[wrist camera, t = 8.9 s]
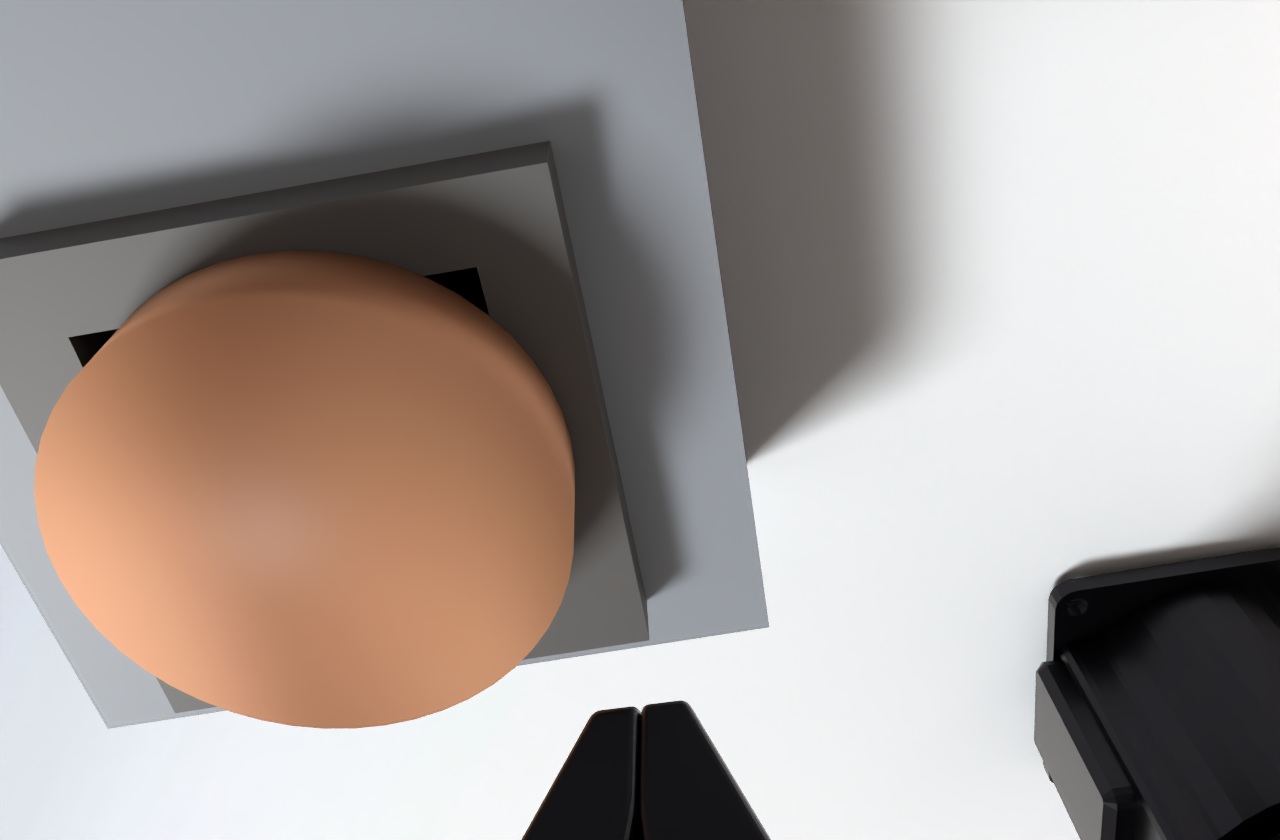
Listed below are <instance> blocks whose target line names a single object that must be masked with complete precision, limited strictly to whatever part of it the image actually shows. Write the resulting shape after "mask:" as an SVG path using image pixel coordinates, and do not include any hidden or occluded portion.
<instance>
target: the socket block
mask: <svg viewBox="0 0 1280 840" xmlns="http://www.w3.org/2000/svg"><path fill="white" fill-rule="evenodd" d="M278 251H326V252H333V253H340V254H348V255H355V256H361V257H365V258H368V259H372V260H376V261H380V262H384V263H388V264H392V265H395V266H398V267H400V268H403V269H405V270H408V271H410V272H413V273H416V274H418V275H421V276H427V275H433V274H439V273H444V272H450V271H456V270H462V269H468V268H473V267H477V270H478V273H479V277H480V281H481V285H482V289H483V293H484V297H485V300H486V304H487V308H488V312H489V316H490V317H491V318H492V319H493V320H494V321H495V322H496V323H498V324H499V325H500V326H501V327H502V328H503V329H504V330H505V331H507V332H508V333H509V334H510V335H511V336H512V337H513V338H514V339H515V340H516V342H517V343H518V344H519V345H520V346H521V347H522V348H523V350H524V351H525V352H526V353H527V354H528V355H529V356H530V358H531V359H532V360H533V361H534V363H535V364H536V366H537V367H538V369H539V370H540V372H541V373H542V375H543V376H544V378H545V379H546V381H547V382H548V384H549V385H550V387H551V389H552V391H553V393H554V396H555V398H556V400H557V402H558V404H559V406H560V408H561V410H562V412H563V415H564V419H565V422H566V425H567V428H568V431H569V434H570V438H571V443H572V449H573V456H574V462H575V514H574V553H573V559H572V565H571V572H570V578H569V582H568V585H567V588H566V591H565V594H564V597H563V599H562V602H561V605H560V607H559V609H558V611H557V613H556V615H555V617H554V618H553V620H552V622H551V624H550V626H549V628H548V629H547V631H546V632H545V633H544V635H543V636H542V638H541V639H540V640H539V642H538V643H537V644H536V646H535V647H534V648H533V650H532V651H531V652H530V653H529V654H528V655H527V656H526V657H525V658H524V659H523V660H522V661H521V662H520V663H519V664H518V665H517V666H519V665H525V664H532V663H538V662H545V661H551V660H558V659H564V658H571V657H577V656H584V655H590V654H597V653H603V652H610V651H617V650H623V649H630V648H636V647H643V646H649V645H656V644H662V643H669V642H675V641H682V640H688V639H695V638H701V637H708V636H714V635H721V634H727V633H734V632H740V631H747V630H753V629H760V628H766V627H769V623H768V616H767V609H766V601H765V594H764V587H763V580H762V572H761V565H760V558H759V551H758V543H757V536H756V529H755V522H754V514H753V507H752V500H751V493H750V486H749V478H748V471H747V464H746V457H745V449H744V442H743V435H742V428H741V420H740V413H739V406H738V399H737V391H736V384H735V377H734V370H733V362H732V355H731V348H730V341H729V334H728V326H727V319H726V312H725V305H724V297H723V290H722V283H721V276H720V268H719V261H718V254H717V247H716V239H715V232H714V225H713V218H712V210H711V203H710V196H709V189H708V182H707V174H706V167H705V160H704V153H703V145H702V138H701V131H700V124H699V116H698V109H697V102H696V95H695V87H694V80H693V73H692V66H691V58H690V51H689V44H688V37H687V30H686V22H685V15H684V8H683V1H682V0H0V544H1V546H2V547H3V549H4V551H5V553H6V554H7V556H8V558H9V560H10V561H11V563H12V565H13V566H14V568H15V570H16V572H17V573H18V575H19V577H20V578H21V580H22V582H23V584H24V585H25V587H26V589H27V590H28V592H29V594H30V596H31V597H32V599H33V601H34V602H35V604H36V606H37V608H38V609H39V611H40V613H41V614H42V616H43V618H44V620H45V621H46V623H47V625H48V626H49V628H50V630H51V632H52V633H53V635H54V637H55V638H56V640H57V642H58V644H59V645H60V647H61V649H62V650H63V652H64V654H65V656H66V657H67V659H68V661H69V662H70V664H71V666H72V668H73V669H74V671H75V673H76V674H77V676H78V678H79V680H80V681H81V683H82V685H83V686H84V688H85V690H86V692H87V693H88V695H89V697H90V698H91V700H92V702H93V704H94V705H95V707H96V709H97V710H98V712H99V714H100V716H101V717H102V719H103V721H104V723H105V724H106V726H107V728H108V729H109V728H115V727H122V726H128V725H135V724H141V723H148V722H154V721H161V720H167V719H174V718H180V717H187V716H193V715H200V714H206V713H213V712H219V711H226V710H225V709H222V708H220V707H217V706H214V705H212V704H209V703H206V702H204V701H201V700H199V699H197V698H195V697H193V696H191V695H189V694H186V693H184V692H182V691H180V690H178V689H176V688H174V687H172V686H170V685H169V684H167V683H165V682H164V681H162V680H161V679H159V678H157V677H156V676H154V675H152V674H151V673H149V672H147V671H146V670H144V669H143V668H142V667H140V666H139V665H138V664H136V663H135V662H134V661H132V660H131V659H130V658H128V657H127V656H126V655H124V654H123V653H122V652H121V651H119V650H118V649H117V648H116V647H115V646H114V645H113V644H112V643H111V642H110V641H109V640H108V639H106V638H105V637H104V636H103V635H102V634H101V633H100V632H99V631H98V630H97V629H96V628H95V627H94V626H93V624H92V623H91V622H90V621H89V620H88V618H87V617H86V616H85V615H84V614H83V613H82V611H81V610H80V609H79V608H78V607H77V605H76V604H75V602H74V601H73V599H72V598H71V596H70V595H69V593H68V592H67V590H66V589H65V587H64V585H63V584H62V582H61V581H60V579H59V577H58V575H57V573H56V571H55V569H54V567H53V564H52V562H51V560H50V558H49V556H48V554H47V551H46V548H45V545H44V541H43V538H42V535H41V532H40V528H39V525H38V519H37V512H36V505H35V497H34V485H35V464H36V459H37V454H38V450H39V445H40V440H41V436H42V434H43V431H44V429H45V427H46V424H47V422H48V419H49V417H50V414H51V412H52V410H53V408H54V406H55V405H56V403H57V402H58V400H59V398H60V397H61V395H62V394H63V392H64V390H65V389H66V387H67V386H68V384H69V383H70V382H71V381H72V380H73V379H74V378H75V376H76V375H77V374H78V373H79V372H80V371H81V370H82V369H83V368H84V366H85V365H86V364H87V363H88V362H89V361H90V360H91V359H92V358H93V357H94V355H95V354H96V353H97V352H98V351H99V350H100V349H101V348H102V347H103V345H104V344H105V343H106V342H107V341H108V340H109V339H110V338H111V337H112V336H113V334H114V333H115V332H116V331H117V330H118V329H119V328H120V327H121V326H122V324H123V323H124V322H125V321H126V320H127V319H128V318H129V317H130V316H131V315H132V313H133V312H134V311H135V310H136V309H137V308H139V307H140V306H141V305H142V304H144V303H145V302H146V301H147V300H149V299H150V298H151V297H152V296H154V295H155V294H156V293H157V292H159V291H160V290H162V289H163V288H165V287H167V286H169V285H170V284H172V283H174V282H176V281H177V280H179V279H181V278H183V277H184V276H186V275H188V274H190V273H193V272H196V271H198V270H201V269H203V268H206V267H208V266H211V265H213V264H216V263H218V262H222V261H227V260H231V259H235V258H239V257H243V256H247V255H251V254H260V253H269V252H278Z"/></svg>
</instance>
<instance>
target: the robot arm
mask: <svg viewBox="0 0 1280 840" xmlns="http://www.w3.org/2000/svg"><path fill="white" fill-rule="evenodd" d="M1075 599H1079V600H1078V601H1077V602H1076V603H1073V604H1071V605H1067V604H1069V603H1070V602H1071V601H1072V600H1075ZM1034 741H1035V744H1036V746H1037V748H1038V750H1039V753H1040V755H1041V757H1042V759H1043V765H1044V768H1045V770H1046V773H1047V775H1048V777H1049V779H1050V781H1051V782H1053V783H1054V784H1055V786H1056V788H1057V791H1058V793H1059V795H1060V797H1061V799H1062V801H1063V803H1064V805H1065V808H1066V810H1067V812H1068V814H1069V816H1070V818H1071V820H1072V822H1073V824H1074V827H1075V829H1076V831H1077V833H1078V835H1079V837H1080V839H1081V840H1280V547H1279V548H1273V549H1266V550H1260V551H1253V552H1247V553H1240V554H1234V555H1227V556H1221V557H1214V558H1208V559H1201V560H1195V561H1188V562H1182V563H1175V564H1169V565H1162V566H1155V567H1149V568H1142V569H1136V570H1129V571H1123V572H1116V573H1110V574H1103V575H1097V576H1090V577H1084V578H1077V579H1071V580H1068V581H1064V582H1062V583H1060V584H1059V585H1057V586H1056V587H1055V588H1054V589H1053V590H1052V592H1051V593H1050V596H1049V603H1048V632H1047V661H1046V662H1042V663H1041V665H1040V667H1039V668H1038V670H1037V671H1036V695H1035V731H1034ZM522 840H771V839H770V838H769V836H768V834H767V833H766V831H765V829H764V828H763V826H762V824H761V823H760V821H759V819H758V818H757V816H756V814H755V813H754V811H753V809H752V808H751V806H750V804H749V803H748V801H747V799H746V798H745V796H744V794H743V793H742V791H741V789H740V788H739V786H738V784H737V783H736V781H735V779H734V778H733V776H732V774H731V773H730V771H729V769H728V768H727V766H726V764H725V763H724V761H723V759H722V758H721V756H720V754H719V753H718V751H717V749H716V748H715V746H714V744H713V743H712V741H711V739H710V738H709V736H708V734H707V733H706V731H705V729H704V728H703V726H702V724H701V723H700V721H699V719H698V718H697V716H696V714H695V713H694V711H693V709H692V708H691V706H690V705H689V704H688V703H687V702H685V701H674V702H666V703H658V704H649V705H646V706H645V707H644V708H643V709H642V712H640V711H639V710H638V709H637V708H635V707H625V708H617V709H609V710H601V711H597V712H595V713H594V714H593V715H592V716H591V717H590V719H589V720H588V722H587V724H586V726H585V728H584V729H583V731H582V733H581V735H580V736H579V738H578V740H577V742H576V744H575V745H574V747H573V749H572V751H571V753H570V754H569V756H568V758H567V760H566V761H565V763H564V765H563V767H562V769H561V770H560V772H559V774H558V776H557V778H556V779H555V781H554V783H553V785H552V786H551V788H550V790H549V792H548V794H547V795H546V797H545V799H544V801H543V803H542V804H541V806H540V808H539V810H538V811H537V813H536V815H535V817H534V819H533V820H532V822H531V824H530V826H529V827H528V829H527V831H526V833H525V835H524V836H523V838H522Z"/></svg>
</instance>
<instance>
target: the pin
mask: <svg viewBox="0 0 1280 840" xmlns="http://www.w3.org/2000/svg"><path fill="white" fill-rule="evenodd" d="M34 497H35V505H36V512H37V519H38V525H39V528H40V532H41V535H42V538H43V541H44V545H45V548H46V551H47V554H48V556H49V558H50V560H51V562H52V564H53V567H54V569H55V571H56V573H57V575H58V577H59V579H60V581H61V582H62V584H63V585H64V587H65V589H66V590H67V592H68V593H69V595H70V596H71V598H72V599H73V601H74V602H75V604H76V605H77V607H78V608H79V609H80V610H81V611H82V613H83V614H84V615H85V616H86V617H87V618H88V620H89V621H90V622H91V623H92V624H93V626H94V627H95V628H96V629H97V630H98V631H99V632H100V633H101V634H102V635H103V636H104V637H105V638H106V639H108V640H109V641H110V642H111V643H112V644H113V645H114V646H115V647H116V648H117V649H118V650H119V651H121V652H122V653H123V654H124V655H126V656H127V657H128V658H130V659H131V660H132V661H134V662H135V663H136V664H138V665H139V666H140V667H142V668H143V669H144V670H146V671H147V672H149V673H151V674H152V675H154V676H156V677H157V678H159V679H161V680H162V681H164V682H165V683H167V684H169V685H170V686H172V687H174V688H176V689H178V690H180V691H182V692H184V693H186V694H189V695H191V696H193V697H195V698H197V699H199V700H201V701H204V702H206V703H209V704H212V705H214V706H217V707H220V708H222V709H225V710H228V711H230V712H234V713H237V714H241V715H245V716H248V717H252V718H256V719H259V720H264V721H269V722H275V723H281V724H286V725H292V726H302V727H314V728H362V727H372V726H382V725H389V724H393V723H398V722H403V721H408V720H413V719H417V718H420V717H423V716H426V715H430V714H433V713H436V712H439V711H442V710H445V709H447V708H449V707H451V706H454V705H456V704H458V703H461V702H463V701H465V700H467V699H469V698H471V697H473V696H475V695H476V694H478V693H480V692H481V691H483V690H485V689H486V688H488V687H490V686H491V685H493V684H494V683H496V682H497V681H498V680H500V679H501V678H502V677H503V676H505V675H506V674H507V673H509V672H510V671H511V670H512V669H514V668H515V667H516V666H517V665H518V664H519V663H520V662H521V661H522V660H523V659H524V658H525V657H526V656H527V655H528V654H529V653H530V652H531V651H532V650H533V648H534V647H535V646H536V644H537V643H538V642H539V640H540V639H541V638H542V636H543V635H544V633H545V632H546V631H547V629H548V628H549V626H550V624H551V622H552V620H553V618H554V617H555V615H556V613H557V611H558V609H559V607H560V605H561V602H562V599H563V597H564V594H565V591H566V588H567V585H568V582H569V578H570V572H571V565H572V559H573V553H574V514H575V462H574V456H573V449H572V443H571V438H570V434H569V431H568V428H567V425H566V422H565V419H564V415H563V412H562V410H561V408H560V406H559V404H558V402H557V400H556V398H555V396H554V393H553V391H552V389H551V387H550V385H549V384H548V382H547V381H546V379H545V378H544V376H543V375H542V373H541V372H540V370H539V369H538V367H537V366H536V364H535V363H534V361H533V360H532V359H531V358H530V356H529V355H528V354H527V353H526V352H525V351H524V350H523V348H522V347H521V346H520V345H519V344H518V343H517V342H516V340H515V339H514V338H513V337H512V336H511V335H510V334H509V333H508V332H507V331H505V330H504V329H503V328H502V327H501V326H500V325H499V324H498V323H496V322H495V321H494V320H493V319H492V318H491V317H490V316H489V312H488V308H487V304H486V300H485V297H484V293H483V289H482V285H481V281H480V277H479V273H478V270H477V267H473V268H468V269H462V270H456V271H450V272H444V273H439V274H433V275H427V276H421V275H418V274H416V273H413V272H410V271H408V270H405V269H403V268H400V267H398V266H395V265H392V264H388V263H384V262H380V261H376V260H372V259H368V258H365V257H361V256H355V255H348V254H340V253H333V252H326V251H278V252H269V253H260V254H251V255H247V256H243V257H239V258H235V259H231V260H227V261H222V262H218V263H216V264H213V265H211V266H208V267H206V268H203V269H201V270H198V271H196V272H193V273H190V274H188V275H186V276H184V277H183V278H181V279H179V280H177V281H176V282H174V283H172V284H170V285H169V286H167V287H165V288H163V289H162V290H160V291H159V292H157V293H156V294H155V295H154V296H152V297H151V298H150V299H149V300H147V301H146V302H145V303H144V304H142V305H141V306H140V307H139V308H137V309H136V310H135V311H134V312H133V313H132V315H131V316H130V317H129V318H128V319H127V320H126V321H125V322H124V323H123V324H122V326H121V327H120V328H119V329H118V330H117V331H116V332H115V333H114V334H113V336H112V337H111V338H110V339H109V340H108V341H107V342H106V343H105V344H104V345H103V347H102V348H101V349H100V350H99V351H98V352H97V353H96V354H95V355H94V357H93V358H92V359H91V360H90V361H89V362H88V363H87V364H86V365H85V366H84V368H83V369H82V370H81V371H80V372H79V373H78V374H77V375H76V376H75V378H74V379H73V380H72V381H71V382H70V383H69V384H68V386H67V387H66V389H65V390H64V392H63V394H62V395H61V397H60V398H59V400H58V402H57V403H56V405H55V406H54V408H53V410H52V412H51V414H50V417H49V419H48V422H47V424H46V427H45V429H44V431H43V434H42V436H41V440H40V445H39V450H38V454H37V459H36V464H35V485H34Z"/></svg>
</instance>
